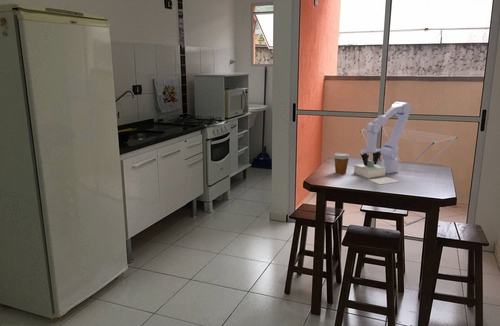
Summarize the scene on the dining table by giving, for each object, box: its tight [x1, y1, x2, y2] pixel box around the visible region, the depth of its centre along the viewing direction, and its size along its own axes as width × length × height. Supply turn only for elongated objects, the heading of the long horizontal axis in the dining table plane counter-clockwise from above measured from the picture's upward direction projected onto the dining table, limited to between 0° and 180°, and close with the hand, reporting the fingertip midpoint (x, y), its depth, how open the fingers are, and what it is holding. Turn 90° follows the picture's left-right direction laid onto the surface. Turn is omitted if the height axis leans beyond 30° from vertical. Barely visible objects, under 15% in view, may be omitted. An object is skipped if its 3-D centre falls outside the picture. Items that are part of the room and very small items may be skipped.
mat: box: [368, 176, 400, 186], centre depth 241 cm, size 14×10×1 cm
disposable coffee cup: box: [333, 152, 350, 175], centre depth 257 cm, size 10×10×12 cm
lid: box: [354, 159, 386, 171], centre depth 253 cm, size 13×13×5 cm
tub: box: [353, 165, 386, 179], centre depth 254 cm, size 13×13×4 cm
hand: (370, 164), depth 253 cm, fingers open, 6 cm apart
